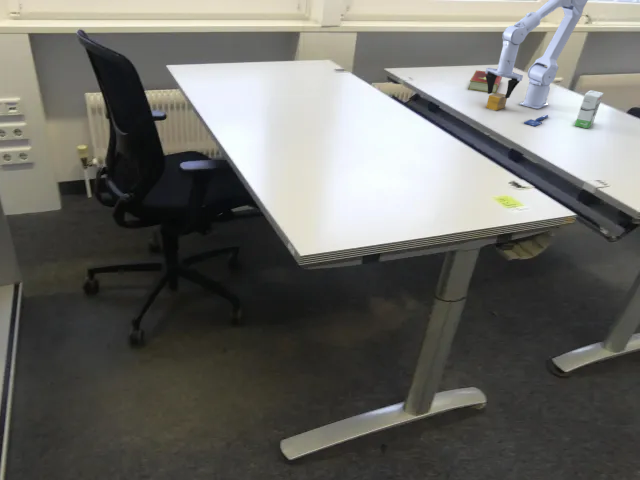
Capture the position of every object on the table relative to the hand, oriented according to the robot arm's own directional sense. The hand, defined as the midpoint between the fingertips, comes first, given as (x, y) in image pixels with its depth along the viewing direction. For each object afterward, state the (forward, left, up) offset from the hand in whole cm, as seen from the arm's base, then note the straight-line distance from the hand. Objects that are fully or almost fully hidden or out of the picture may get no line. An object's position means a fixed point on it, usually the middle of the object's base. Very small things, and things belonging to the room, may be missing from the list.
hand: (498, 95), depth 220 cm
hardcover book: (-27, -20, -5) cm, 34 cm away
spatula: (+3, +19, -5) cm, 20 cm away
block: (0, 0, -5) cm, 5 cm away
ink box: (-8, +32, -5) cm, 33 cm away
